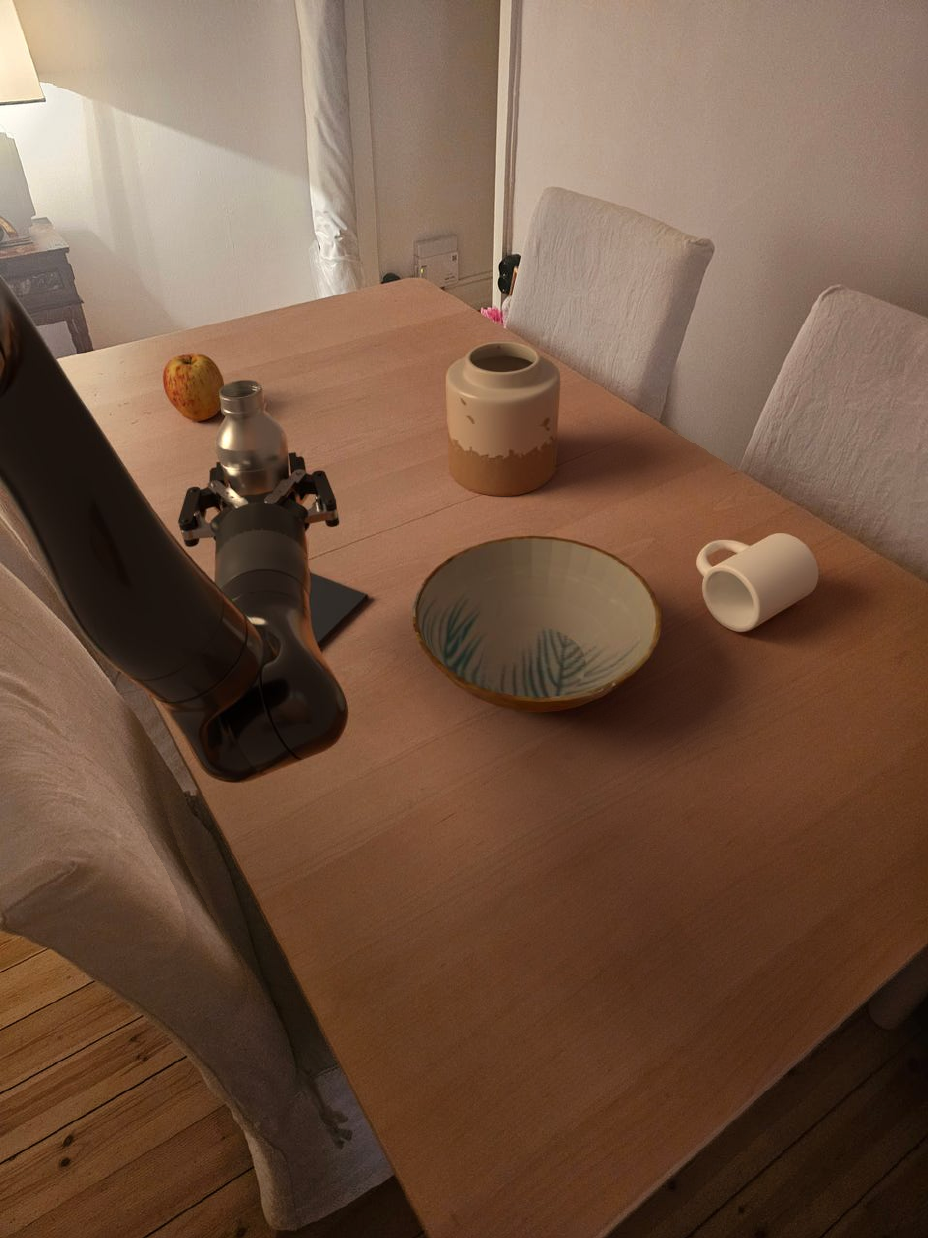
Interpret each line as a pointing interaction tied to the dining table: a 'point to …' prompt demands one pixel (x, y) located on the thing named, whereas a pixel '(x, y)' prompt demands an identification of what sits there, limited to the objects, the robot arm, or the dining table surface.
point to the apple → (193, 386)
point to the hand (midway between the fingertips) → (258, 465)
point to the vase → (502, 419)
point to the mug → (756, 579)
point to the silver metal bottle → (250, 441)
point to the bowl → (536, 622)
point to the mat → (331, 606)
